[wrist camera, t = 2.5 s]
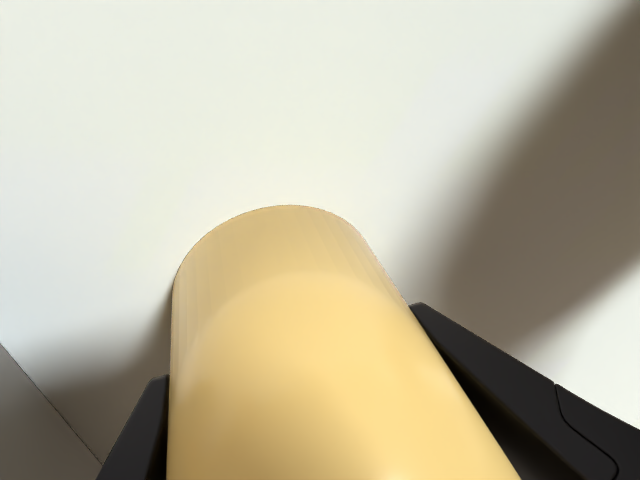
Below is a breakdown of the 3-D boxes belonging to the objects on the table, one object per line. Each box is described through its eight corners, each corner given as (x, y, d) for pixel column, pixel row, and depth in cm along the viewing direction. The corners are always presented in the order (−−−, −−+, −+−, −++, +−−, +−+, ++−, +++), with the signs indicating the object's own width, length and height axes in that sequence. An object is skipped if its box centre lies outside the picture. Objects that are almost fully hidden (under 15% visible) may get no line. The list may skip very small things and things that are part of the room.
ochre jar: (372, 180, 10) (688, 546, 4) (377, 335, 14) (553, 670, 7) (135, 234, 9) (34, 830, 3) (204, 386, 13) (224, 821, 6)
